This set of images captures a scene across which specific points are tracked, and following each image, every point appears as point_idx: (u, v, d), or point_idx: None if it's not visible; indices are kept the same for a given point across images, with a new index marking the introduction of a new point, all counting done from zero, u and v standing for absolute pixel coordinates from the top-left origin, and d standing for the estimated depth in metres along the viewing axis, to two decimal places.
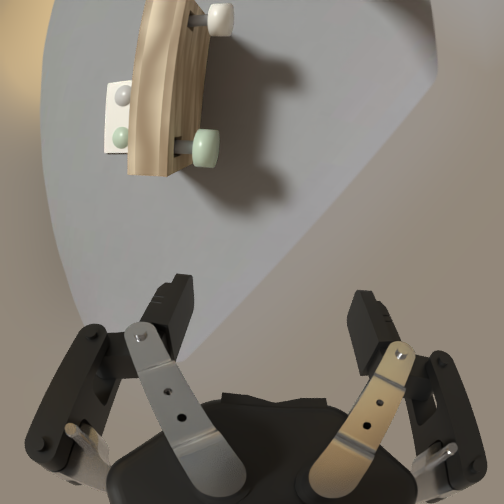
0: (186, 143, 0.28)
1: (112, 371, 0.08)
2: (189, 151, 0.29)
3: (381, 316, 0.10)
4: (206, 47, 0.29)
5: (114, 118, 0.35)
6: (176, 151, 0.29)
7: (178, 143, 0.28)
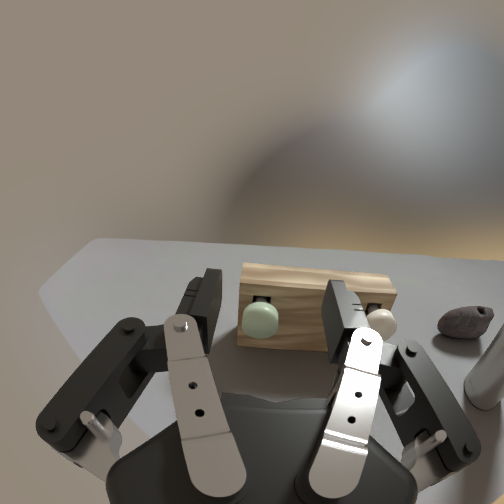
0: None
1: (149, 364, 0.09)
2: None
3: (350, 304, 0.11)
4: None
5: None
6: (258, 299, 0.36)
7: (265, 301, 0.35)
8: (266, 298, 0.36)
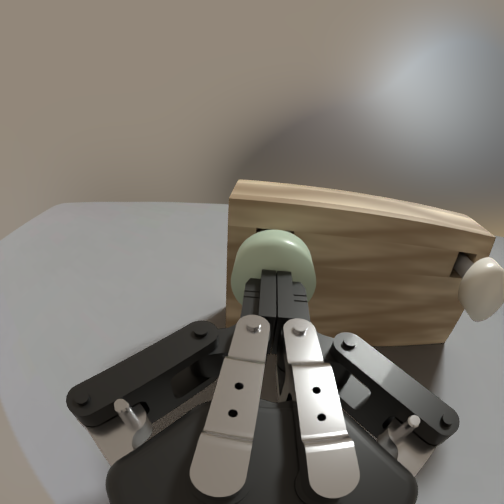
0: None
1: (218, 368, 0.09)
2: None
3: (291, 294, 0.12)
4: (417, 336, 0.21)
5: None
6: None
7: None
8: None
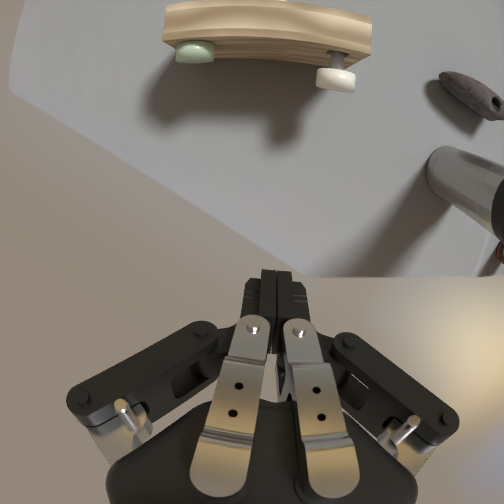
0: None
1: (218, 368, 0.09)
2: None
3: (291, 294, 0.12)
4: (314, 63, 0.30)
5: None
6: None
7: None
8: None
